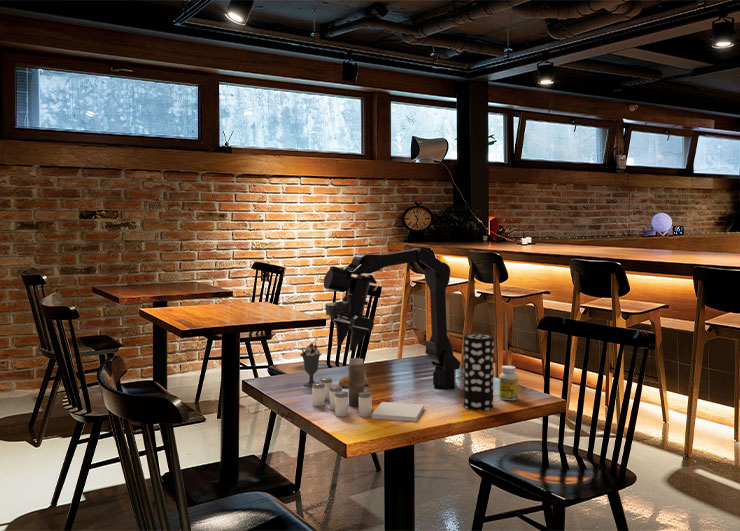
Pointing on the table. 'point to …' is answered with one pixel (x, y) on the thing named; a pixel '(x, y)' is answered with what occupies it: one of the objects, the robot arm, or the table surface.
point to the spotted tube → (478, 371)
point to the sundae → (311, 361)
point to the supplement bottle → (508, 383)
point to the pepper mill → (355, 380)
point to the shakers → (339, 398)
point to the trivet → (398, 411)
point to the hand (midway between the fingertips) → (345, 347)
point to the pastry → (345, 381)
